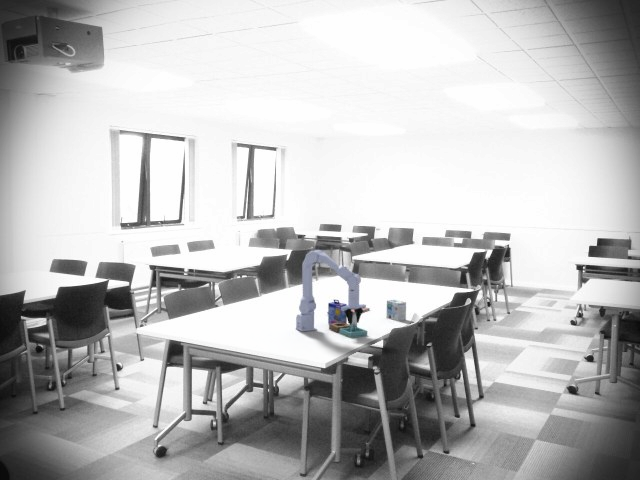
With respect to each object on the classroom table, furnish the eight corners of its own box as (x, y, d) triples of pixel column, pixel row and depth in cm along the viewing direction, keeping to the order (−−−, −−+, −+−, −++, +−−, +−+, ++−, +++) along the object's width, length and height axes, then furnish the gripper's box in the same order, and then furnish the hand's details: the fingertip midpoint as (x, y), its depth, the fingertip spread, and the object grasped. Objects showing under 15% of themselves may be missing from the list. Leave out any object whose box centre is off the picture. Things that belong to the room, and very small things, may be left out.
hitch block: (337, 332, 302) (337, 327, 302) (329, 329, 310) (329, 323, 310) (351, 330, 307) (351, 325, 307) (342, 327, 315) (342, 322, 314)
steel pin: (352, 332, 296) (352, 313, 296) (347, 330, 300) (348, 312, 299) (358, 331, 298) (358, 312, 298) (354, 329, 302) (354, 311, 301)
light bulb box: (386, 318, 341) (386, 300, 340) (394, 316, 345) (394, 299, 344) (397, 321, 332) (398, 303, 331) (406, 320, 336) (406, 302, 335)
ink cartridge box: (327, 323, 324) (327, 298, 323) (333, 322, 328) (333, 297, 327) (341, 326, 317) (341, 301, 316) (347, 324, 322) (347, 299, 321)
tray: (350, 337, 292) (350, 333, 292) (339, 333, 301) (339, 328, 301) (367, 335, 297) (367, 330, 297) (356, 331, 306) (356, 326, 306)
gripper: (346, 299, 290) (345, 325, 291) (369, 297, 298) (369, 323, 299) (339, 297, 297) (338, 323, 298) (361, 295, 304) (361, 320, 305)
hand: (353, 322), depth 299 cm, fingers closed on steel pin, 4 cm apart
